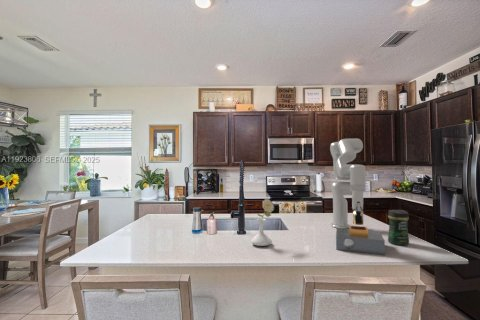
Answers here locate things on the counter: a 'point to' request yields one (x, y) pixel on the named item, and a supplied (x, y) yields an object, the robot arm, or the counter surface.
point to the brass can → (354, 218)
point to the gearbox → (360, 240)
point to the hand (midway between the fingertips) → (358, 221)
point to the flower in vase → (261, 237)
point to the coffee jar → (398, 227)
